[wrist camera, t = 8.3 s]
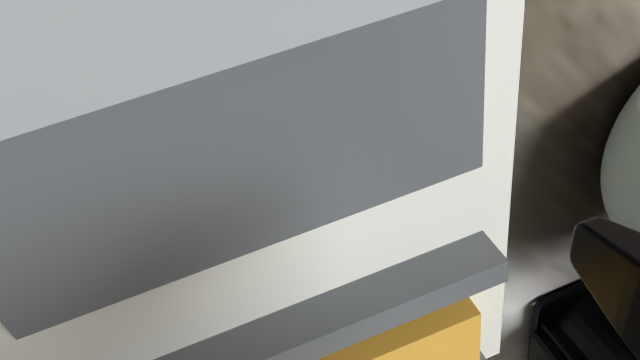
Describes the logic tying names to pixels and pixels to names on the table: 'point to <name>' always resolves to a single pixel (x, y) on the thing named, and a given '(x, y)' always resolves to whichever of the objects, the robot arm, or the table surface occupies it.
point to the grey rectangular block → (147, 47)
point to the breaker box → (272, 200)
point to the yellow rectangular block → (424, 338)
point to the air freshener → (623, 166)
